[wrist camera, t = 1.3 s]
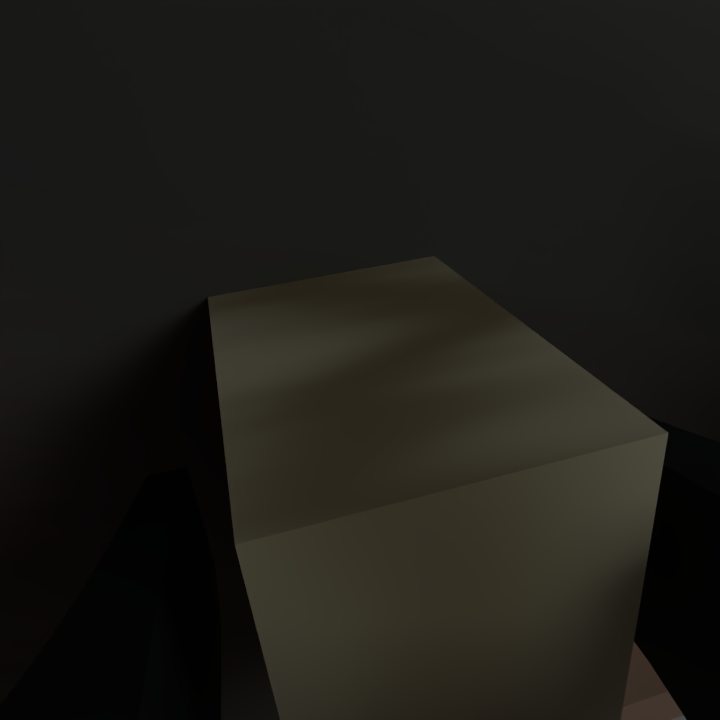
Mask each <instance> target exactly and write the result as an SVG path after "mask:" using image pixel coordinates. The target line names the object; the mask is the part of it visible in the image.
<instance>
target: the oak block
mask: <svg viewBox="0 0 720 720" xmlns="http://www.w3.org/2000/svg"><path fill="white" fill-rule="evenodd" d="M208 304H209V313H210V323H211V332H212V341H213V350H214V359H215V368H216V378H217V387H218V396H219V405H220V414H221V423H222V432H223V442H224V451H225V460H226V469H227V478H228V487H229V497H230V506H231V515H232V524H233V533H234V542H235V548H236V552H237V555H238V559H239V563H240V567H241V571H242V575H243V579H244V582H245V586H246V590H247V594H248V598H249V602H250V606H251V609H252V613H253V617H254V621H255V625H256V629H257V632H258V636H259V640H260V644H261V648H262V652H263V656H264V660H265V663H266V667H267V671H268V675H269V679H270V683H271V686H272V690H273V694H274V698H275V702H276V706H277V710H278V713H279V717H280V720H621V715H622V709H623V703H624V697H625V691H626V685H627V679H628V673H629V667H630V661H631V655H632V649H633V643H634V637H635V631H636V625H637V619H638V613H639V607H640V601H641V595H642V589H643V583H644V577H645V571H646V565H647V559H648V553H649V547H650V541H651V535H652V529H653V523H654V517H655V511H656V505H657V499H658V493H659V487H660V481H661V475H662V469H663V463H664V457H665V451H666V445H667V439H668V432H667V431H665V430H664V429H663V428H661V427H660V426H659V425H657V424H656V423H655V422H654V421H652V420H651V419H650V418H648V417H647V416H646V415H644V414H643V413H642V412H640V411H639V410H638V409H636V408H635V407H634V406H632V405H631V404H630V403H628V402H627V401H626V400H624V399H623V398H622V397H620V396H619V395H618V394H616V393H615V392H614V391H612V390H611V389H610V388H608V387H607V386H606V385H604V384H603V383H602V382H600V381H599V380H598V379H596V378H595V377H594V376H593V375H591V374H590V373H589V372H587V371H586V370H585V369H583V368H582V367H581V366H579V365H578V364H577V363H575V362H574V361H573V360H571V359H570V358H569V357H567V356H566V355H565V354H563V353H562V352H561V351H559V350H558V349H557V348H555V347H554V346H553V345H551V344H550V343H549V342H547V341H546V340H545V339H543V338H542V337H541V336H539V335H538V334H537V333H536V332H534V331H533V330H532V329H530V328H529V327H528V326H526V325H525V324H524V323H522V322H521V321H520V320H518V319H517V318H516V317H514V316H513V315H512V314H510V313H509V312H508V311H506V310H505V309H504V308H502V307H501V306H500V305H498V304H497V303H496V302H494V301H493V300H492V299H490V298H489V297H488V296H486V295H485V294H484V293H482V292H481V291H480V290H478V289H477V288H476V287H475V286H473V285H472V284H471V283H469V282H468V281H467V280H465V279H464V278H463V277H461V276H460V275H459V274H457V273H456V272H455V271H453V270H452V269H451V268H449V267H448V266H447V265H445V264H444V263H443V262H441V261H440V260H439V259H437V258H436V257H435V256H432V257H427V258H421V259H416V260H410V261H405V262H399V263H394V264H388V265H383V266H377V267H372V268H366V269H361V270H355V271H350V272H344V273H338V274H333V275H327V276H322V277H316V278H311V279H305V280H300V281H294V282H289V283H283V284H278V285H272V286H267V287H261V288H256V289H250V290H245V291H239V292H234V293H228V294H223V295H217V296H212V297H208Z"/></svg>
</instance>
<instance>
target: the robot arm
mask: <svg viewBox="0 0 720 720" xmlns="http://www.w3.org/2000/svg"><path fill="white" fill-rule="evenodd" d="M648 418H650V417H648ZM650 419H651V420H652V421H654V422H655V423H656V424H657V425H659V426H660V427H661V428H663V429H664V430H665V431H667V432H668V439H667V445H666V451H665V457H664V463H663V469H662V475H661V481H660V487H659V493H658V499H657V505H656V511H655V517H654V523H653V529H652V535H651V541H650V547H649V553H648V559H647V565H646V571H645V577H644V583H643V589H642V595H641V601H640V607H639V613H638V619H637V625H636V631H635V637H634V642H635V643H636V645H637V646H638V647H639V649H640V650H641V652H642V653H643V654H644V656H645V657H646V658H647V660H648V661H649V663H650V664H651V666H652V667H653V669H654V670H655V672H656V674H657V675H658V677H659V678H660V680H661V681H662V683H663V684H664V686H665V687H666V689H667V690H668V692H669V694H670V695H671V697H672V698H673V700H674V701H675V703H676V704H677V706H678V707H679V709H680V710H681V712H682V714H683V715H684V717H685V718H686V720H720V442H717V441H714V440H711V439H708V438H705V437H702V436H699V435H696V434H694V433H691V432H688V431H685V430H682V429H680V428H677V427H674V426H671V425H669V424H666V423H663V422H661V421H658V420H655V419H653V418H650ZM0 720H221V619H220V609H219V600H218V591H217V583H216V574H215V566H214V560H213V557H212V553H211V550H210V546H209V543H208V539H207V536H206V532H205V529H204V525H203V522H202V518H201V515H200V511H199V508H198V504H197V501H196V497H195V494H194V490H193V487H192V483H191V480H190V476H189V473H188V469H187V467H185V468H181V469H177V470H172V471H168V472H164V473H159V474H155V475H151V476H147V477H146V479H145V480H144V482H143V483H142V484H141V486H140V488H139V490H138V492H137V494H136V496H135V498H134V500H133V502H132V504H131V506H130V508H129V510H128V512H127V513H126V515H125V517H124V519H123V521H122V523H121V525H120V526H119V528H118V530H117V532H116V534H115V535H114V537H113V539H112V541H111V543H110V544H109V546H108V548H107V549H106V551H105V553H104V555H103V556H102V558H101V560H100V561H99V563H98V565H97V566H96V568H95V570H94V572H93V573H92V575H91V577H90V578H89V580H88V582H87V583H86V585H85V586H84V588H83V590H82V591H81V593H80V594H79V596H78V597H77V599H76V600H75V602H74V603H73V605H72V606H71V608H70V609H69V611H68V612H67V614H66V615H65V617H64V618H63V620H62V621H61V623H60V624H59V626H58V627H57V629H56V630H55V632H54V633H53V635H52V636H51V638H50V639H49V641H48V642H47V644H46V645H45V646H44V648H43V649H42V650H41V652H40V653H39V655H38V656H37V657H36V659H35V660H34V662H33V663H32V664H31V666H30V667H29V668H28V670H27V671H26V672H25V674H24V675H23V676H22V678H21V679H20V680H19V682H18V683H17V684H16V685H15V687H14V688H13V689H12V691H11V692H10V693H9V694H8V696H7V697H6V698H5V700H4V701H3V702H2V703H1V705H0Z"/></svg>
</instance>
